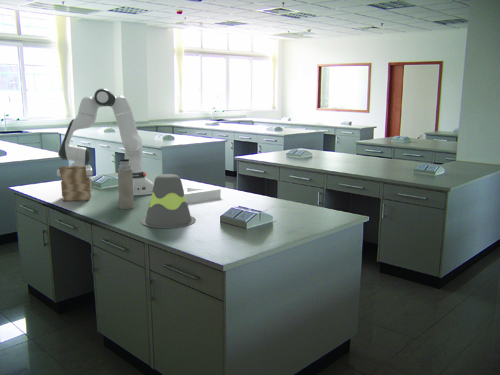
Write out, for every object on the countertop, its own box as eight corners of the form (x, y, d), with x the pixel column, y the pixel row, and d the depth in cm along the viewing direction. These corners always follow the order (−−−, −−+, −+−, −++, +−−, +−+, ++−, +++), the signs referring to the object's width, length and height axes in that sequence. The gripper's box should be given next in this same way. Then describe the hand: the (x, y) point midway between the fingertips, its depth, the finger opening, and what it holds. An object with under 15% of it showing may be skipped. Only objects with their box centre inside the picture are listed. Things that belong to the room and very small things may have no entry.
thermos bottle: (122, 205, 260) (120, 158, 254) (135, 205, 259) (133, 158, 253) (117, 208, 252) (114, 160, 246) (130, 209, 251) (128, 160, 246)
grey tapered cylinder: (160, 212, 246) (159, 169, 242) (205, 217, 236) (204, 173, 232) (129, 224, 221) (127, 177, 216) (178, 231, 211) (177, 182, 206)
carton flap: (85, 166, 258) (85, 167, 258) (87, 180, 269) (87, 181, 269) (58, 166, 255) (58, 167, 254) (62, 181, 265) (62, 182, 265)
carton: (92, 195, 285) (91, 176, 283) (90, 200, 272) (89, 181, 269) (65, 196, 281) (64, 177, 279) (62, 201, 267) (60, 181, 265)
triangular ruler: (179, 205, 264) (179, 195, 263) (158, 197, 284) (158, 188, 283) (220, 198, 283) (220, 189, 282) (198, 192, 303) (198, 182, 301)
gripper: (58, 165, 273) (54, 169, 260) (93, 164, 278) (90, 169, 265) (58, 175, 274) (55, 180, 261) (93, 174, 279) (91, 179, 266)
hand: (73, 174), depth 263 cm, fingers closed, pressing on carton flap
